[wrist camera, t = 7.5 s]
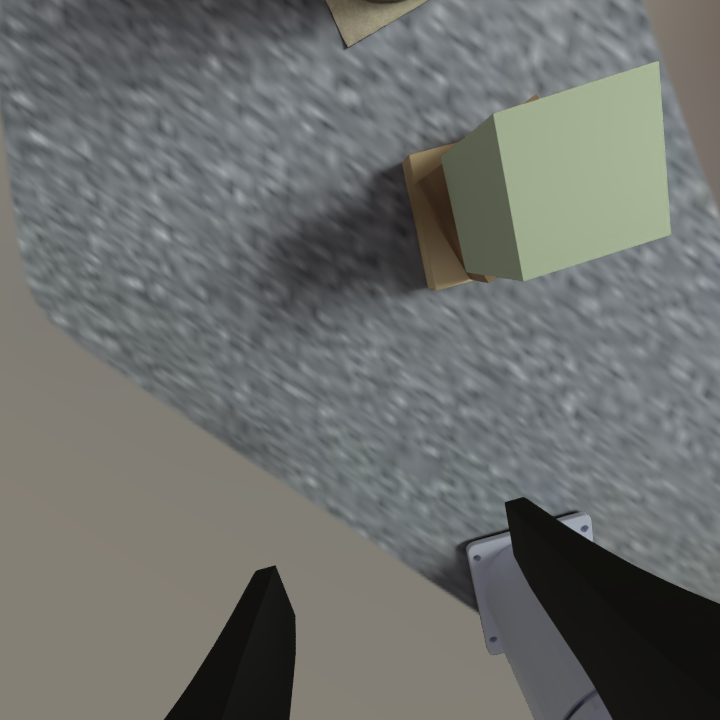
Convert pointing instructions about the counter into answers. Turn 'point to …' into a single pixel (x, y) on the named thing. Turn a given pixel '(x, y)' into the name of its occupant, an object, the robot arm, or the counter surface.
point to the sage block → (562, 178)
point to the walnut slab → (446, 210)
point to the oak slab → (431, 224)
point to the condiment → (367, 15)
